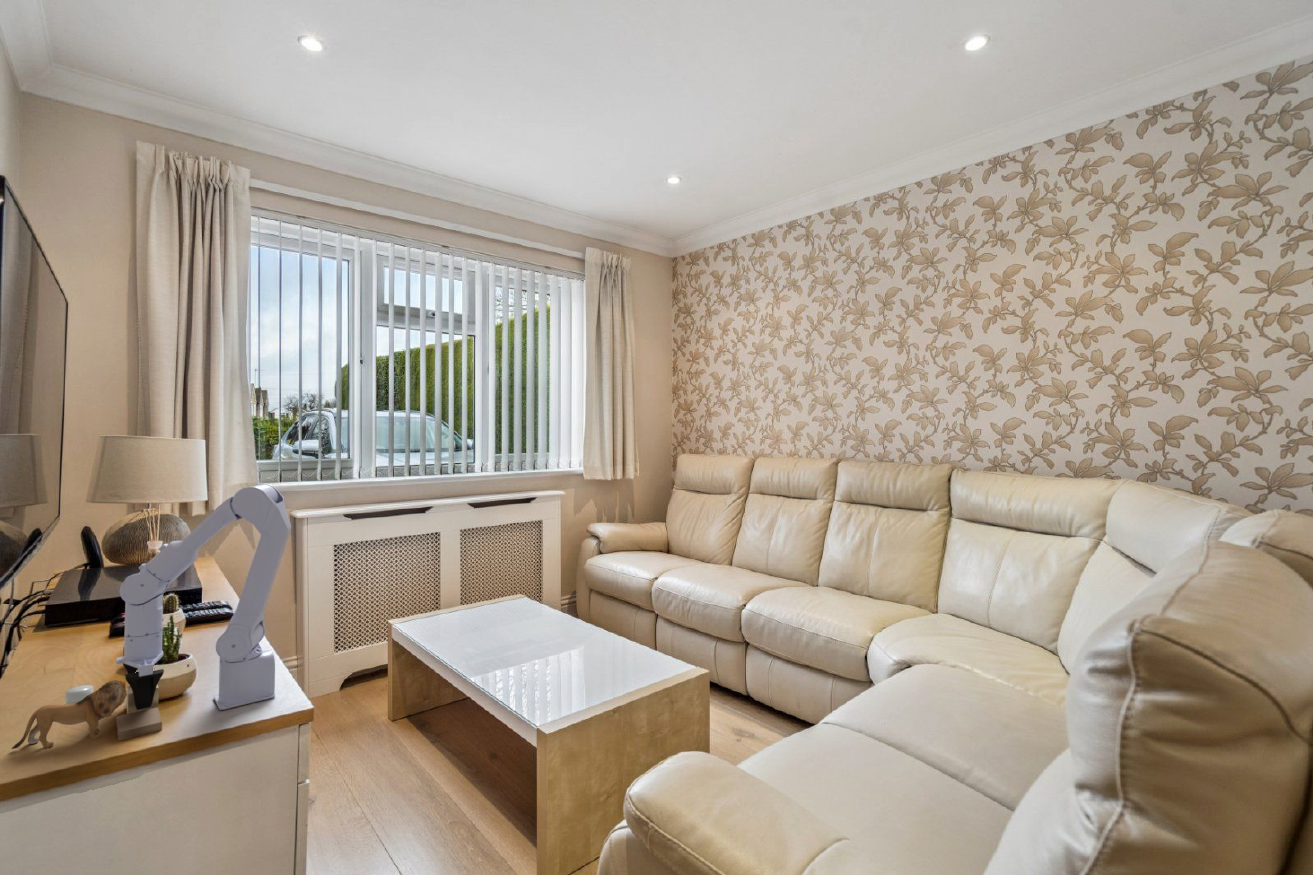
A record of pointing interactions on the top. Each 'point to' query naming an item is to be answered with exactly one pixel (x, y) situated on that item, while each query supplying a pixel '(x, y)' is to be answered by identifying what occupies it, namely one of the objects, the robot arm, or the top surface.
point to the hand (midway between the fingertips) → (142, 701)
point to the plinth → (138, 723)
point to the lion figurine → (76, 713)
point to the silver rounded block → (78, 693)
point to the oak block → (131, 703)
